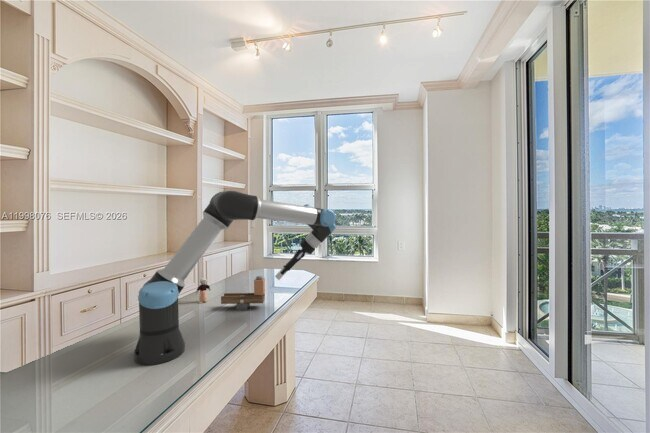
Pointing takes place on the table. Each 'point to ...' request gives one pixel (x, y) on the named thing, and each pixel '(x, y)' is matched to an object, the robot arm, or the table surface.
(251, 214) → the robot arm
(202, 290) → the grandmother figurine
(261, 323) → the table surface
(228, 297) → the beam
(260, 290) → the rider
